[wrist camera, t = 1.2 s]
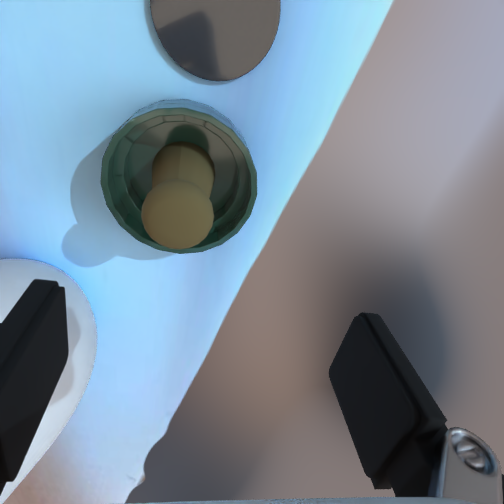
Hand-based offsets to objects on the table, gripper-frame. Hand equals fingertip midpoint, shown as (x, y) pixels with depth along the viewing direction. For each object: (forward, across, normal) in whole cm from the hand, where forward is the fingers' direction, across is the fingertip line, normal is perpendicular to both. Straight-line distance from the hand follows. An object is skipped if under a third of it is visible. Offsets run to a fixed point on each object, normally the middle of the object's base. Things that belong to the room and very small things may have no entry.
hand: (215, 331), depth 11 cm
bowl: (+25, +2, +3) cm, 25 cm away
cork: (+25, +2, +3) cm, 25 cm away
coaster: (+24, +1, -10) cm, 27 cm away
